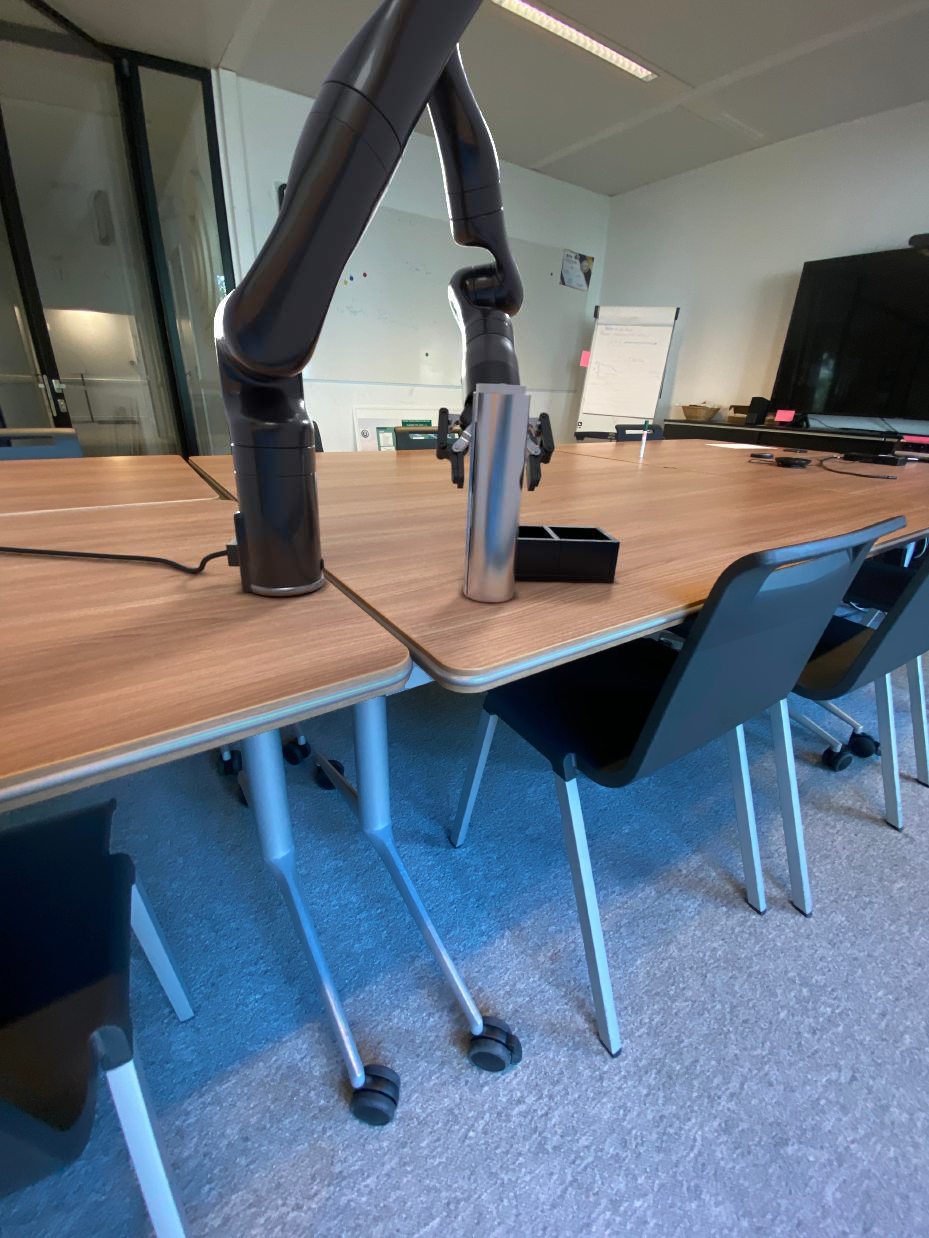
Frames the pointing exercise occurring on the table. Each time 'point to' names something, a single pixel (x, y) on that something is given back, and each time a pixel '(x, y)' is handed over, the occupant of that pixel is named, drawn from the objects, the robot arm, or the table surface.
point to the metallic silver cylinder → (495, 490)
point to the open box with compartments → (565, 554)
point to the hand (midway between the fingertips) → (496, 486)
